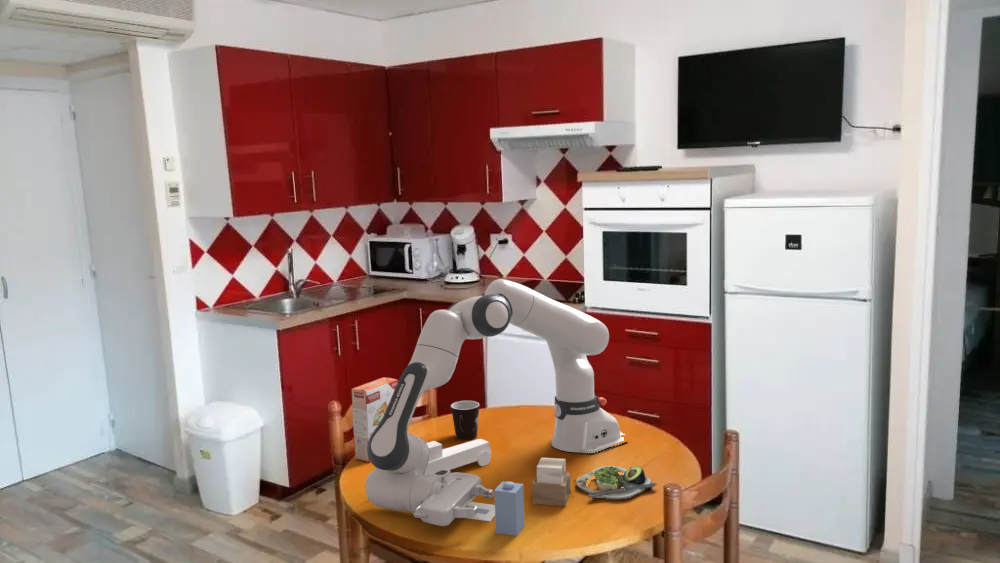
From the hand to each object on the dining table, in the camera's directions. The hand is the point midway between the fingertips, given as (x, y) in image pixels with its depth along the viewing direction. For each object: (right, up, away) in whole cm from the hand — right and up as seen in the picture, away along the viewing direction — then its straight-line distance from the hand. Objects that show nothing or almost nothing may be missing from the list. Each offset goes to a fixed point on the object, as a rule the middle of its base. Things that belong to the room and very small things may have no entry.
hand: (484, 503), depth 170 cm
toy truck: (-10, -1, +32) cm, 34 cm away
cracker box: (-32, 0, +47) cm, 57 cm away
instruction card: (-2, -4, +8) cm, 9 cm away
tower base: (+16, -3, +14) cm, 22 cm away
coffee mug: (-8, +3, +57) cm, 57 cm away
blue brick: (+6, -5, -2) cm, 8 cm away
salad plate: (+33, -2, +20) cm, 38 cm away
